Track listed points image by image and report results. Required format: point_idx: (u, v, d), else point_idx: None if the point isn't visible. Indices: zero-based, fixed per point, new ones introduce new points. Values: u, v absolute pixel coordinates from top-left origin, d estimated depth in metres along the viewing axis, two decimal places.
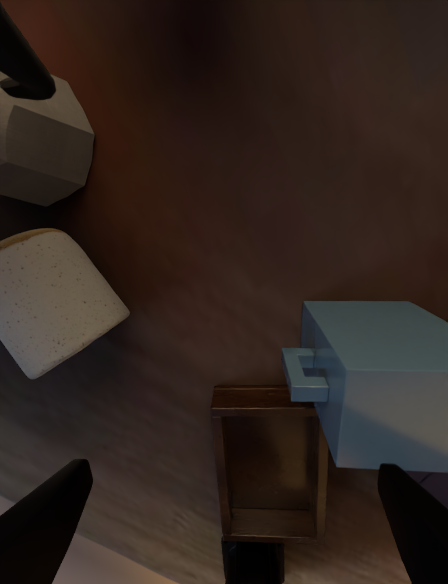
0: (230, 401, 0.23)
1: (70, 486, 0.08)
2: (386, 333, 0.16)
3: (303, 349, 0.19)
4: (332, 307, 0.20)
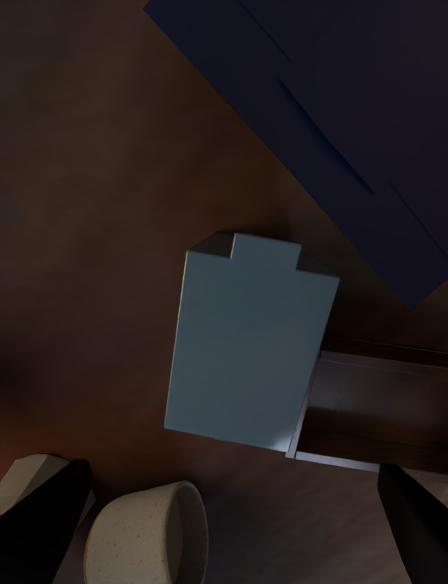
0: None
1: (70, 486, 0.08)
2: None
3: None
4: None
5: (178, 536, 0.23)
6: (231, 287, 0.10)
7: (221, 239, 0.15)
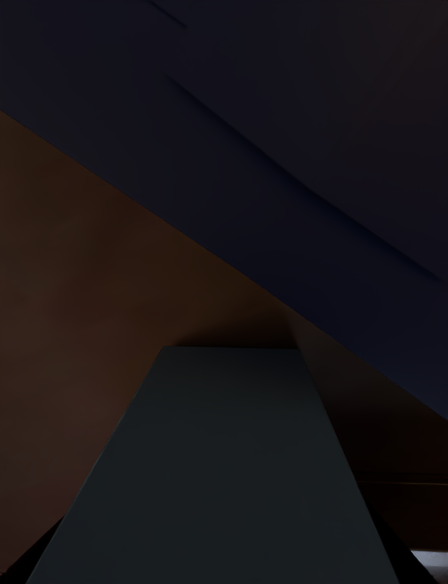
0: None
1: None
2: None
3: None
4: None
5: None
6: None
7: (145, 430, 0.07)
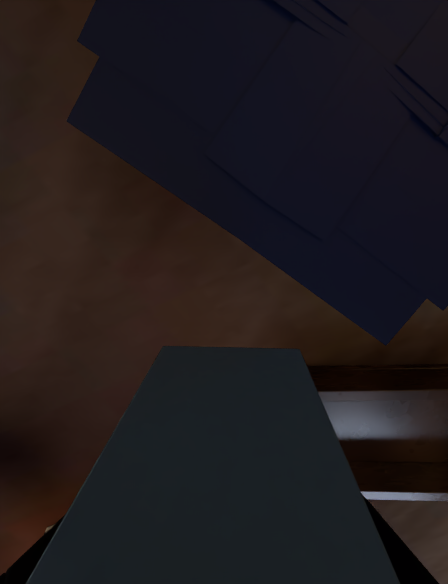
0: None
1: None
2: None
3: None
4: None
5: None
6: None
7: (145, 429, 0.07)
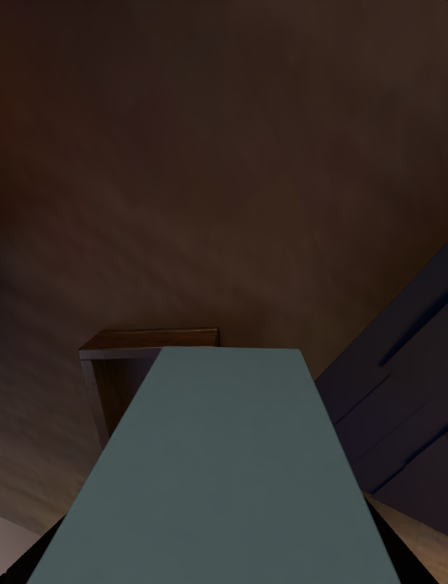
0: (105, 343, 0.19)
1: None
2: None
3: None
4: None
5: None
6: None
7: (145, 430, 0.07)
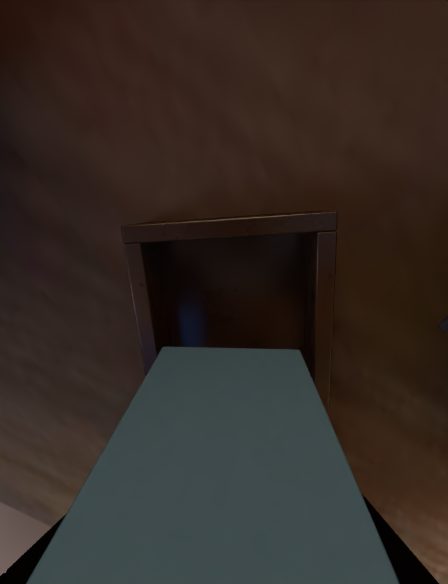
0: (160, 222, 0.13)
1: None
2: None
3: None
4: None
5: None
6: None
7: (144, 431, 0.07)
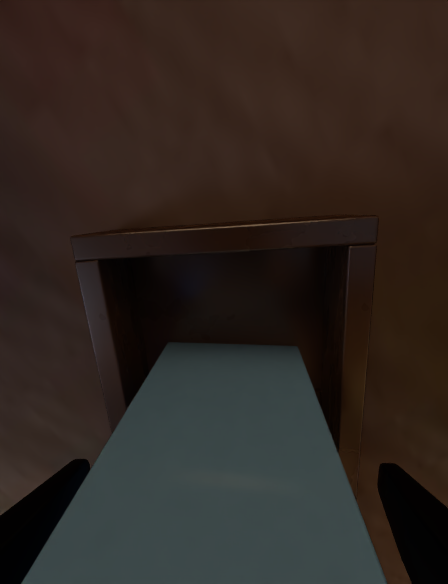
0: (127, 231, 0.09)
1: (70, 486, 0.08)
2: None
3: None
4: None
5: None
6: None
7: (150, 417, 0.08)
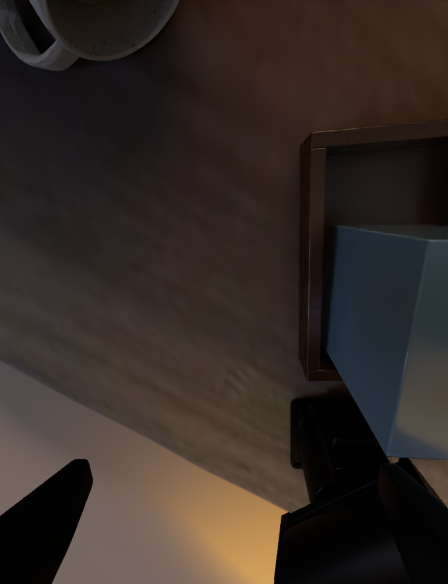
0: None
1: (70, 486, 0.08)
2: (357, 327, 0.13)
3: None
4: (327, 324, 0.18)
5: None
6: None
7: (375, 228, 0.13)
